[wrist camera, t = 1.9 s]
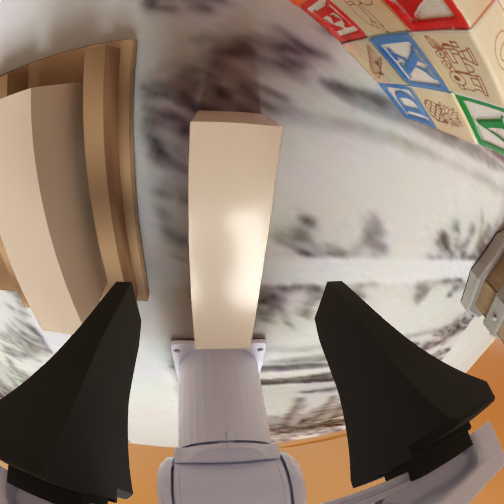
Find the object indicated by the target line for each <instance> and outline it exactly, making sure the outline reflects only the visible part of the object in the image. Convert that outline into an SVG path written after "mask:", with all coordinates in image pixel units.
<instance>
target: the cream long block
mask: <svg viewBox="0 0 504 504" xmlns="http://www.w3.org/2000/svg"><path fill="white" fill-rule="evenodd" d="M0 236H1V239H2V242H3V244H4V247H5V250H6V253H7V256H8V258H9V261H10V263H11V266H12V268H13V271H14V273H15V276H16V278H17V280H18V283H19V285H20V287H21V289H22V292H23V294H24V296H25V298H26V300H27V302H28V304H29V306H30V308H31V310H32V312H33V314H34V316H35V318H36V319H37V321H38V323H39V325H40V327H41V329H42V330H45V331H52V332H59V333H66V334H74V333H75V331H76V330H77V329H78V328H79V327H80V326H81V324H82V323H83V322H84V321H85V319H86V318H87V317H88V316H89V315H90V313H91V312H92V311H93V310H94V308H95V307H96V306H97V305H98V303H99V302H100V299H101V297H102V294H103V292H104V289H105V286H106V284H107V281H108V280H107V276H106V272H105V268H104V264H103V260H102V256H101V252H100V247H99V243H98V238H97V233H96V228H95V222H94V217H93V211H92V205H91V198H90V192H89V184H88V176H87V167H86V156H85V143H84V124H83V82H80V83H67V84H57V85H48V86H41V87H34V88H29V89H26V90H23V91H20V92H18V93H15V94H12V95H9V96H7V97H4V98H2V99H0Z"/></svg>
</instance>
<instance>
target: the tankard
mask: <svg viewBox="0 0 504 504" xmlns="http://www.w3.org/2000/svg"><path fill="white" fill-rule="evenodd" d="M461 304H462V305H463V307H464V308H465V309H466V310H467V311H468V312H470V313H471V314H473V315H475V316H476V317H480V316H481V315H484V317H485V319H484V322H483V324H484V325H485V326H486V328H487V329H488V330H489V332H490V335H492V336H494V337H496V338H498V339H501V340H502V342H503V343H504V230H503V231H501V232H499V233H497V234H496V235H495V237H494V238H493V240H492V241H491V243H490V244H489V246H488V247H487V248H486V250H485V251H484V253H483V254H482V256H481V257H480V258H479V260H478V261H477V262H476V264H475V265H474V267H473V268H472V269H471V272H470V275H469V278H468V282H467V285H466V288H465V291H464V294H463V297H462V300H461Z"/></svg>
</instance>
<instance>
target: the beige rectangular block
mask: <svg viewBox="0 0 504 504" xmlns="http://www.w3.org/2000/svg"><path fill="white" fill-rule="evenodd" d="M282 131H283V127H282V126H281V125H279V124H277V123H276V122H274V121H272V120H271V119H269V118H268V117H266V116H264V115H263V114H258V113H246V112H230V111H203V110H198V112H197V113H196V114H195V116H194V117H193V118H192V120H191V121H190V140H189V182H188V216H189V259H190V282H191V300H192V315H193V329H194V341H195V349H240V348H250V347H251V341H252V335H253V328H254V322H255V316H256V310H257V303H258V297H259V290H260V284H261V277H262V271H263V264H264V257H265V251H266V244H267V237H268V231H269V224H270V217H271V210H272V203H273V196H274V189H275V182H276V175H277V167H278V160H279V153H280V145H281V138H282Z"/></svg>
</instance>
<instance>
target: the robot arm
mask: <svg viewBox="0 0 504 504" xmlns="http://www.w3.org/2000/svg"><path fill="white" fill-rule="evenodd" d="M315 322H316V327H317V332H318V336H319V340H320V343H321V346H322V349H323V351H324V354H325V357H326V359H327V362H328V365H329V367H330V370H331V373H332V376H333V378H334V381H335V384H336V387H337V390H338V393H339V396H340V401H341V405H342V410H343V414H344V420H345V425H346V431H347V438H348V446H349V455H350V471H351V482H352V486H353V488H355V487H358V486H361V485H364V484H367V483H370V482H372V481H375V480H378V479H380V478H382V477H385V480H386V482H384V483H381V484H379V485H376V486H374V487H371V488H368V489H366V490H363V491H360V492H357V493H354V494H351V495H348V496H345V497H342V498H339V499H335V500H331V501H328V502H324V503H320V504H372V503H374V504H469V503H470V502H471V501H472V500H473V499H474V498H475V497H476V495H477V494H478V493H479V492H480V491H481V490H482V489H483V487H484V486H485V485H486V484H487V483H488V482H489V481H490V480H491V479H492V478H493V477H494V476H495V475H496V473H497V472H498V471H499V470H500V469H501V468H502V467H503V466H504V453H503V451H502V448H501V446H500V443H499V441H498V438H497V436H496V434H495V431H494V429H493V427H492V425H491V423H490V422H487V423H486V424H484V425H483V426H482V427H480V428H479V429H477V430H476V431H475V432H473V433H472V434H470V435H469V434H468V430H470V429H471V425H470V423H469V421H470V420H471V419H473V418H474V417H476V416H477V415H478V414H479V413H480V412H482V411H483V410H484V409H485V408H487V407H488V406H489V405H490V404H491V403H492V402H493V401H494V399H495V396H494V394H493V393H492V391H491V389H490V387H489V385H488V383H487V382H486V381H484V380H481V379H479V378H476V377H473V376H470V375H468V374H466V373H464V372H461V371H459V370H457V369H455V368H453V367H451V366H449V365H447V364H446V363H444V362H442V361H440V360H439V359H437V358H435V357H434V356H432V355H430V354H429V353H427V352H426V351H424V350H423V349H421V348H420V347H418V346H417V345H416V344H414V343H413V342H411V341H410V340H409V339H407V338H406V337H405V336H403V335H402V334H401V333H400V332H398V331H397V330H396V329H395V328H394V327H392V326H391V325H390V324H389V323H388V322H387V321H385V320H384V319H383V318H382V317H381V316H380V315H379V314H378V313H376V312H375V311H374V310H373V309H372V308H371V307H370V306H369V305H368V304H367V303H365V302H364V301H363V300H362V299H361V298H360V297H359V296H358V295H357V294H356V293H355V292H354V291H352V290H351V289H350V288H349V287H348V286H347V285H346V284H344V283H343V282H342V281H332V282H327V285H326V288H325V291H324V293H323V296H322V299H321V302H320V305H319V308H318V311H317V313H316V316H315ZM140 329H141V318H140V314H139V310H138V306H137V302H136V298H135V293H134V289H133V284H132V282H116V283H115V284H114V285H113V286H112V287H111V288H110V290H109V291H108V292H107V293H106V295H105V296H104V297H103V298H102V300H101V301H100V302H99V303H98V305H97V306H96V307H95V308H94V310H93V311H92V312H91V313H90V315H89V316H88V317H87V318H86V319H85V321H84V322H83V323H82V324H81V326H80V327H79V328H78V329H77V330H76V331H75V333H74V334H73V335H72V336H71V337H70V338H69V339H68V341H67V342H66V343H65V344H64V345H63V346H62V347H61V348H60V349H59V350H58V351H57V353H56V354H55V355H54V356H53V357H52V358H51V359H50V360H49V361H48V362H46V363H45V364H44V365H43V366H42V367H41V368H40V369H39V370H37V371H36V372H35V373H34V374H33V375H32V376H31V377H30V378H29V379H27V380H26V381H25V382H24V383H22V384H21V385H20V386H19V387H17V388H16V389H15V390H13V391H12V392H11V393H9V394H8V395H6V396H5V397H4V398H2V399H0V460H1V461H3V462H5V463H7V464H8V465H9V466H8V470H6V469H5V468H3V467H1V466H0V504H108V501H110V502H115V503H116V502H117V497H118V498H123V499H127V498H129V497H130V496H131V495H133V490H132V485H131V477H130V469H129V456H128V404H129V395H130V389H131V383H132V378H133V373H134V368H135V362H136V357H137V352H138V347H139V339H140ZM266 346H267V345H266V341H265V340H263V339H253V340H252V341H251V347H250V348H240V349H195V341H194V340H174V341H172V342H171V352H172V356H173V361H174V366H175V370H176V375H177V379H178V383H179V403H178V435H179V448H174V457H167V458H166V459H165V461H163V462H162V463H161V464H160V466H159V470H158V477H157V494H158V504H306V489H305V482H304V478H303V475H302V472H301V469H300V467H299V465H298V463H297V461H296V460H295V459H294V458H293V457H291V456H290V455H289V454H288V453H286V452H281V453H279V448H278V444H272V442H271V437H270V431H269V426H268V420H267V415H266V409H265V404H264V398H263V393H262V387H261V381H260V376H259V375H260V371H261V367H262V363H263V359H264V354H265V350H266Z"/></svg>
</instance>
